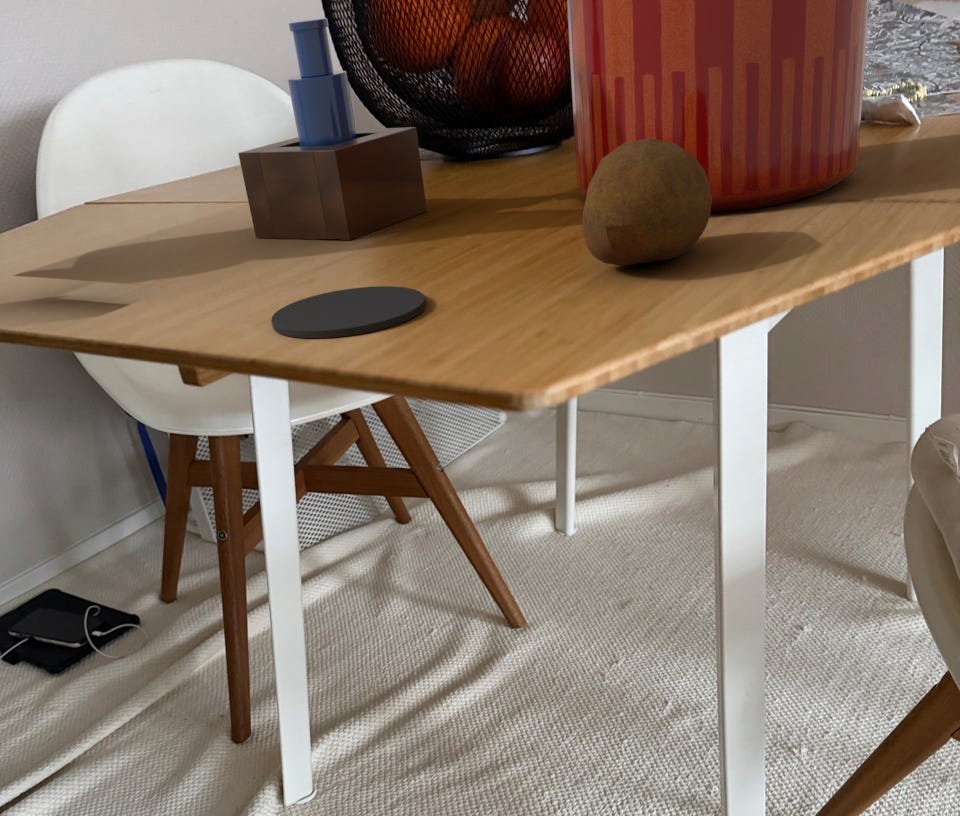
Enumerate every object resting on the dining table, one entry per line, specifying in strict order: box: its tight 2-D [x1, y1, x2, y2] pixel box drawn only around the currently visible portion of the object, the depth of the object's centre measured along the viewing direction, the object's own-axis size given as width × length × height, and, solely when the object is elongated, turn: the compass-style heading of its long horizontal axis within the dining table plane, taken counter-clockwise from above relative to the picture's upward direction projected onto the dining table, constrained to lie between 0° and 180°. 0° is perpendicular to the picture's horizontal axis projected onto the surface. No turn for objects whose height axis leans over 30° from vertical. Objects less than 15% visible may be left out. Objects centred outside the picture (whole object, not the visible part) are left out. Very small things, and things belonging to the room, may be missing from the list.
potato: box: [582, 138, 712, 266], centre depth 71 cm, size 8×12×8 cm, turn 158°
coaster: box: [270, 285, 427, 339], centre depth 70 cm, size 10×10×1 cm
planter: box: [566, 0, 870, 214], centre depth 87 cm, size 23×23×20 cm
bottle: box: [287, 17, 357, 147], centre depth 94 cm, size 5×5×16 cm
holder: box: [237, 126, 428, 241], centre depth 96 cm, size 11×11×7 cm
